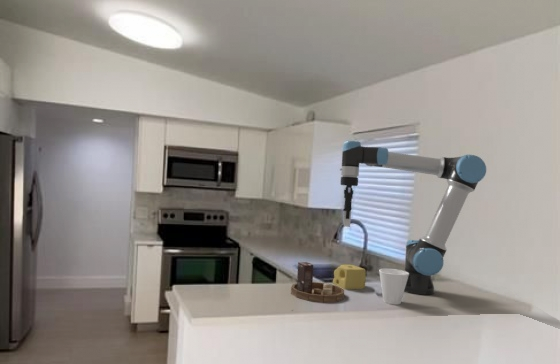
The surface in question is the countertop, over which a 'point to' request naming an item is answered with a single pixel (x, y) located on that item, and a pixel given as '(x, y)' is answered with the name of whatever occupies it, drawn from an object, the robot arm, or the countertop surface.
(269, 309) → the countertop surface
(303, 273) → the box
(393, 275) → the cup
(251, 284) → the countertop surface
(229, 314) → the countertop surface
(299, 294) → the walnut tray
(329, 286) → the bead
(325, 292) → the bead
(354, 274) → the cheese
